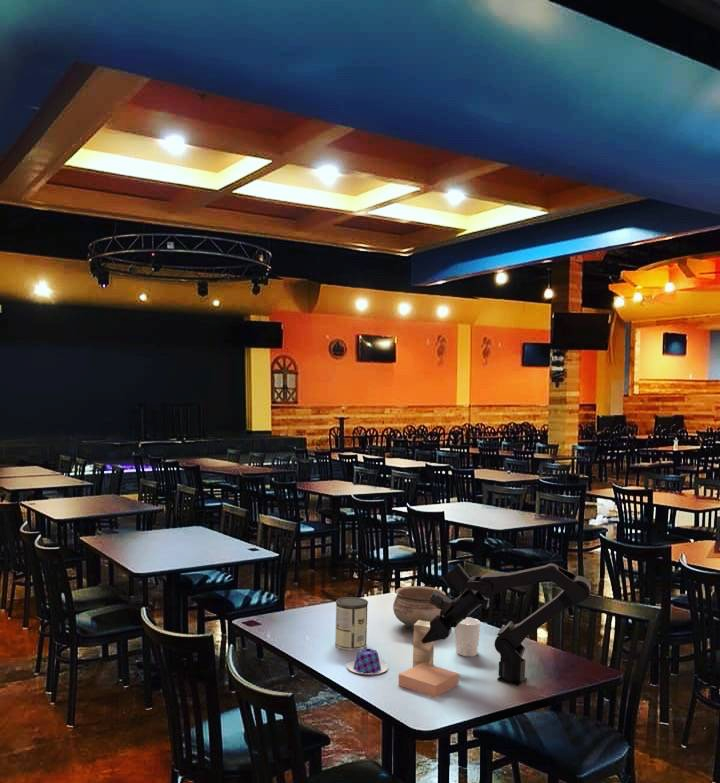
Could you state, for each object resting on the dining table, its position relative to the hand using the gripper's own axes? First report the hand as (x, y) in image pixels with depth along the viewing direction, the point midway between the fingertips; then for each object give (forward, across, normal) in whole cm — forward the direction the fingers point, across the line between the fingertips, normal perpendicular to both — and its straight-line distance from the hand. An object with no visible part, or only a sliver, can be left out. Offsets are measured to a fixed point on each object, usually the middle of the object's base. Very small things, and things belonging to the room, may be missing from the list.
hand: (426, 637), depth 209 cm
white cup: (0, -17, +12) cm, 21 cm away
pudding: (+17, +9, -4) cm, 20 cm away
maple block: (+6, 0, +6) cm, 9 cm away
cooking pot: (+14, -35, -2) cm, 38 cm away
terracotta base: (+3, +13, +9) cm, 16 cm away
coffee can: (+25, -7, -13) cm, 29 cm away
